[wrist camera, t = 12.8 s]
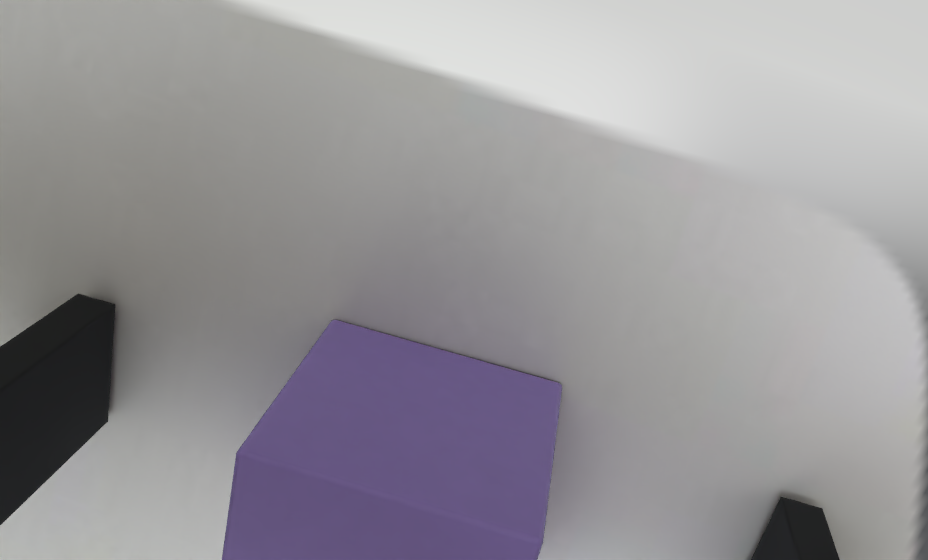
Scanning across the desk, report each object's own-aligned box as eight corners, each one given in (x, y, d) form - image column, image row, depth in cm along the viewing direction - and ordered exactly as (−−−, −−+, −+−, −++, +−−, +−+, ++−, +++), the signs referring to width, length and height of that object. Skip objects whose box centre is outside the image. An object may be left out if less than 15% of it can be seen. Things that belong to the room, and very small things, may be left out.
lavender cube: (331, 316, 16) (235, 450, 12) (563, 382, 16) (544, 541, 12) (298, 502, 18) (204, 674, 14) (505, 564, 17) (471, 757, 13)
